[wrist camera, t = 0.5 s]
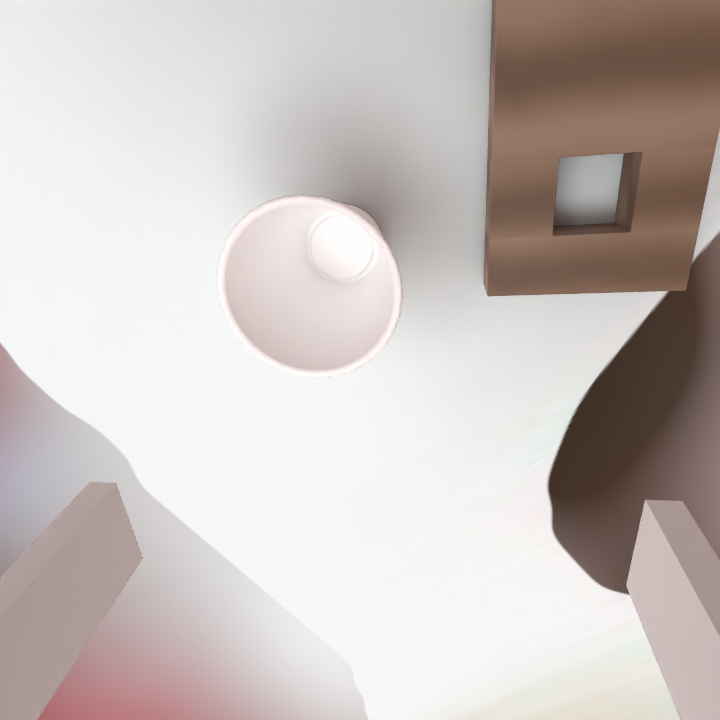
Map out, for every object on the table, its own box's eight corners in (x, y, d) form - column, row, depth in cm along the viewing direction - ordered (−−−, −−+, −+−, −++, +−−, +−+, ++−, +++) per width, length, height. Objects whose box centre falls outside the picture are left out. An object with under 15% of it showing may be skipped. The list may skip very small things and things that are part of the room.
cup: (435, 210, 34) (435, 246, 24) (377, 332, 38) (358, 405, 29) (301, 149, 33) (245, 160, 24) (258, 280, 38) (196, 335, 28)
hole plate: (493, -28, 28) (499, -44, 25) (728, -58, 26) (761, -78, 24) (483, 283, 36) (487, 296, 33) (666, 276, 34) (685, 290, 31)
